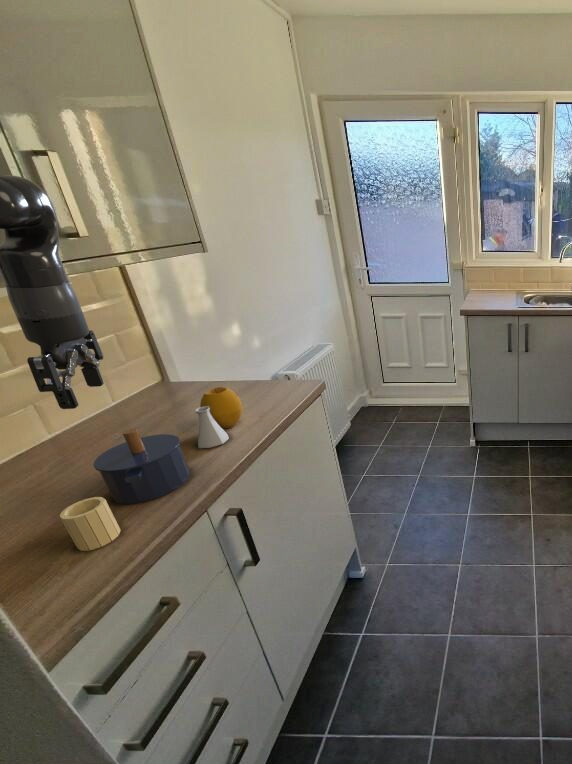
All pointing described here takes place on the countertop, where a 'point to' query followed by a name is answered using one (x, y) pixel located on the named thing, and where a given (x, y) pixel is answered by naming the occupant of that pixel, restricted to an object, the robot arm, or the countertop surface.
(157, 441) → the pot lid
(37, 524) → the countertop surface
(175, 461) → the pot
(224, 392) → the round orange vase
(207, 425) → the flask
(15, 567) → the countertop surface
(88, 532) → the pale yellow hollow cylinder
